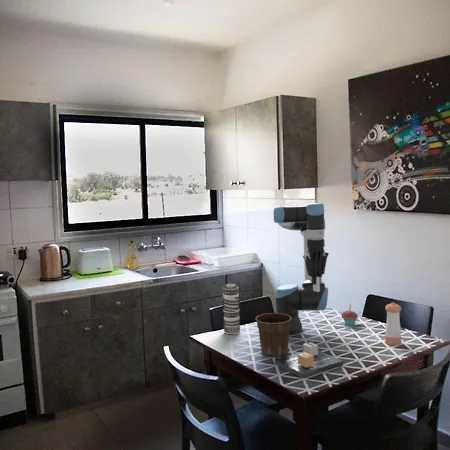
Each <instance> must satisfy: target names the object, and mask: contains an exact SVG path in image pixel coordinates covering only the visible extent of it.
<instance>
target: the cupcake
mask: <svg viewBox="0 0 450 450" xmlns="http://www.w3.org/2000/svg"><path fill="white" fill-rule="evenodd" d="M351 305H352V304H351V303H349V307H348V308H349V309H348V310H345V311H343V312H342V313H341V315H340V316H341V319H343V321H344V325H346V326H351V327H352V326H355V324H356V321H357V319H358V318H359V316H358V313H357V312H355V311H353V310H351V309H352V306H351Z"/></svg>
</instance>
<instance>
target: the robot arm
mask: <svg viewBox="0 0 450 450" xmlns="http://www.w3.org/2000/svg"><path fill="white" fill-rule="evenodd" d="M273 222H274V223H275V224H277V225H279V227H281V228H283V229H286V230H289V231H300V235H301V236H302V237H303V256H302V258H303V259H304V262H303V263H304V281H303V283H302V284H301V287H299V286H298V284H295V283H289V284H288V283H287V284H283V285H279V286H278V287H276V288H275V292H274V293H275V295H274V299H275V313H282V314H287V315H289V316H291V317H292V319H291V322H290V328H289V336H290V335H296V334H299V333H301V332H302V331H303V324H302V321H301V319H300V315H299V311H302V312H303V311H304V312H305V311H312V312H313V311H316V312H317V311H326V309H327V307H328V297H329V287H327V286H326V283H325V282H324V281H323V279H322V278H323V275H325V271H326V267H327V259H328V257H329V256H330V255H329V254H330V253H328V252H326V251H325V249H324V248H325V247H326V245H325V231H326V220H325V206H324V203H322V202H311V203H310V202H309V203H307V204H306V205H300V206H299V205H295V206H282V205H280V206H275V207H273Z"/></svg>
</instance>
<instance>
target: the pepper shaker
mask: <svg viewBox="0 0 450 450" xmlns="http://www.w3.org/2000/svg"><path fill="white" fill-rule="evenodd" d="M385 311H386V323H385V324H386V325H385V334H384V343H385V344H387V345H388V346H400V345H402V344H403V343H402V334H401V333H402V332H401V331H402V327H401V322H400V312H401V311H402V307H401V305H399V304H397V303H395V302H391V303H389V304H386V305H385Z"/></svg>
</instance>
